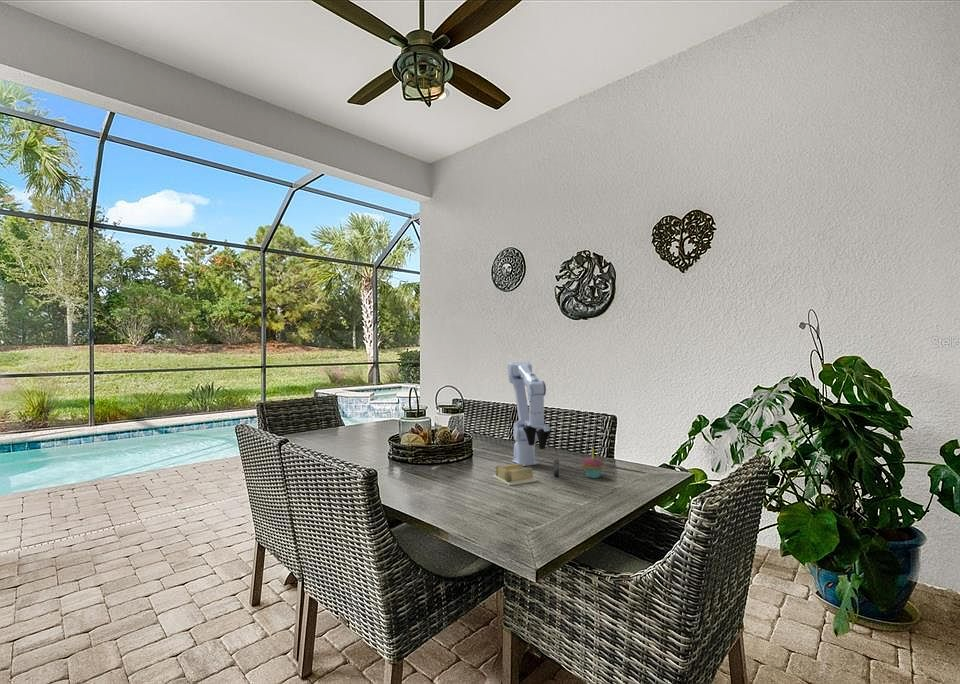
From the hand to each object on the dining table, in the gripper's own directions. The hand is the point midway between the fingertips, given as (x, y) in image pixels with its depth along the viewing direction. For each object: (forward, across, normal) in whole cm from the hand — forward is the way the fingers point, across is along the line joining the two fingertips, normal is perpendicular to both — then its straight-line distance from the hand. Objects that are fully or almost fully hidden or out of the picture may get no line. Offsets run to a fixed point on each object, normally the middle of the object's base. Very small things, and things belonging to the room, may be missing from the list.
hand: (536, 446), depth 180 cm
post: (+10, +6, +5) cm, 13 cm away
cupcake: (+11, +12, +17) cm, 24 cm away
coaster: (+10, +2, -11) cm, 16 cm away
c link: (+10, +2, -11) cm, 15 cm away
